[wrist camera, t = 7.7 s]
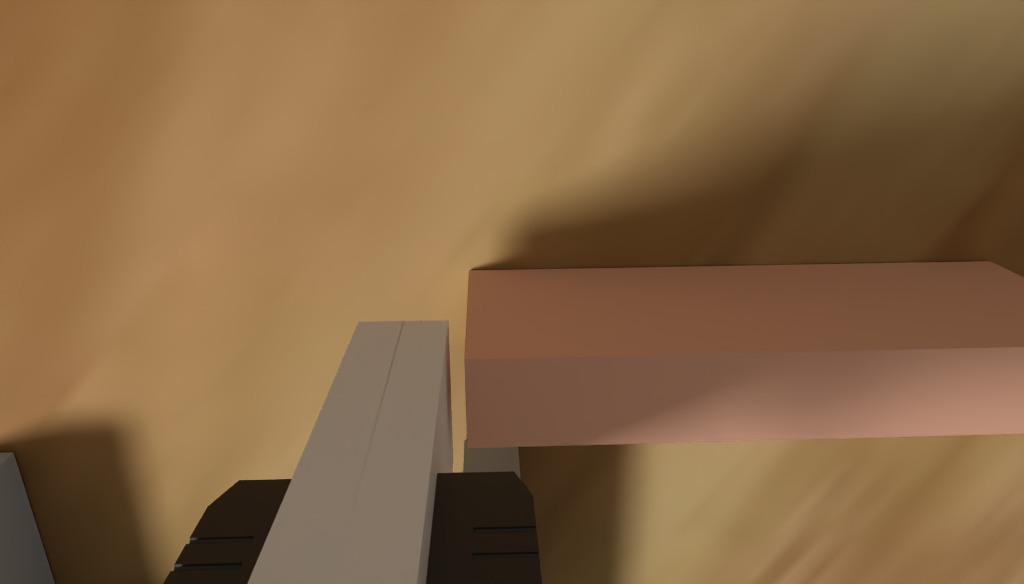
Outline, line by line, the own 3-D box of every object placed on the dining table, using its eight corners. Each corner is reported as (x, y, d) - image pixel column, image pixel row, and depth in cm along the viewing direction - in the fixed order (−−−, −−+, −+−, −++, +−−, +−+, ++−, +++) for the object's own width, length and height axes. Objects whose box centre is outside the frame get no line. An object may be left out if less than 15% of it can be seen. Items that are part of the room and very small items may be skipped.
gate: (990, 261, 15) (1161, 343, 11) (972, 330, 15) (1129, 430, 12) (468, 270, 14) (464, 359, 11) (471, 340, 15) (467, 448, 11)
